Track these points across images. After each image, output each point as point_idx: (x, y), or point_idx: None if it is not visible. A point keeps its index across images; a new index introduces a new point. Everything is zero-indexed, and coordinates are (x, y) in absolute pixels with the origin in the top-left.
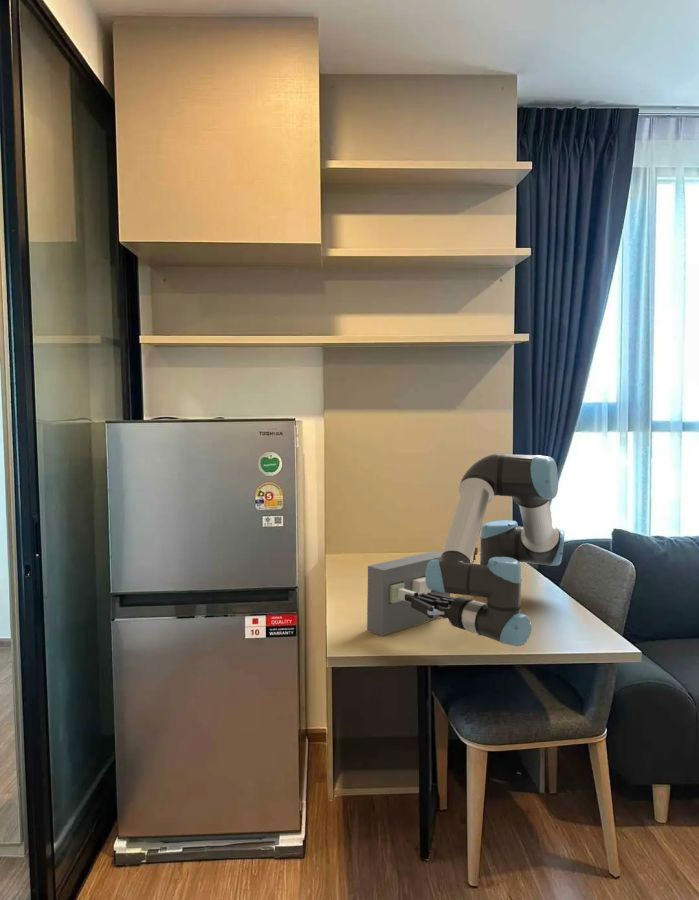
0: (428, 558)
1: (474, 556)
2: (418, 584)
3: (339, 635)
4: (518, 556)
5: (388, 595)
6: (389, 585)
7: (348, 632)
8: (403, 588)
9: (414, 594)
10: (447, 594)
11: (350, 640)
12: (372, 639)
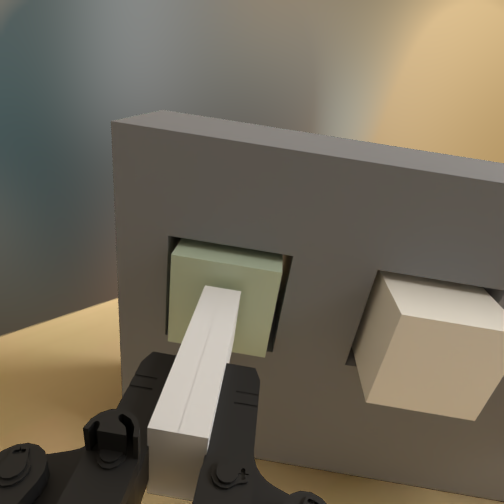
0: None
1: None
2: (391, 325)
3: (65, 328)
4: None
5: (161, 292)
6: (180, 242)
7: (106, 334)
8: (238, 299)
9: (87, 429)
10: None
11: (24, 370)
12: (67, 423)
